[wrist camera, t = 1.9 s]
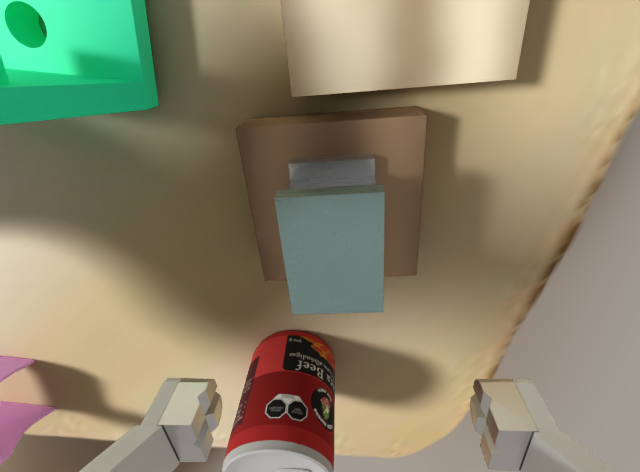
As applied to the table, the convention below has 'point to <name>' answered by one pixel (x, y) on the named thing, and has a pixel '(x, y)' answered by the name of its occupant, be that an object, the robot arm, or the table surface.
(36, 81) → the camera mount
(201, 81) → the table surface
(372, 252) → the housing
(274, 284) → the table surface
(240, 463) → the canned food
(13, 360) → the toy chair
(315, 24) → the stand
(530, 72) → the table surface
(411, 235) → the stand
